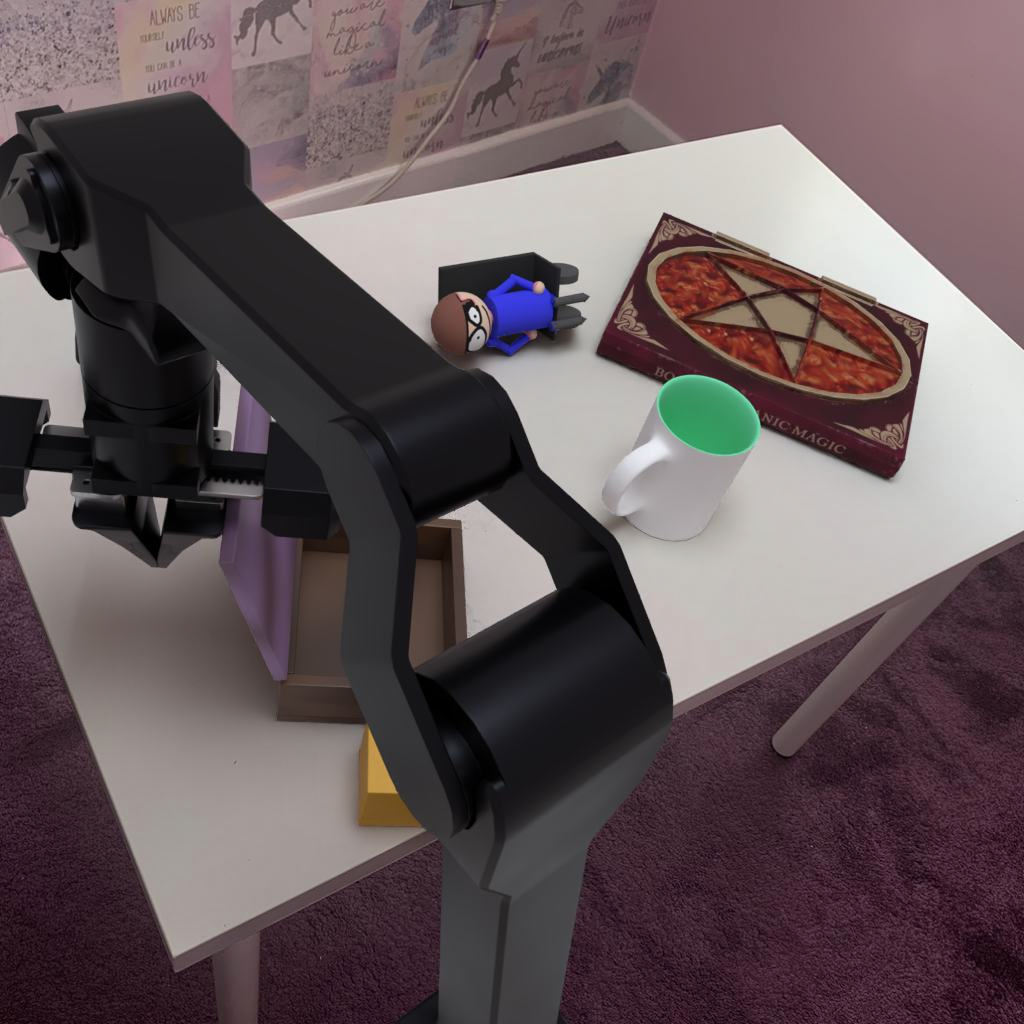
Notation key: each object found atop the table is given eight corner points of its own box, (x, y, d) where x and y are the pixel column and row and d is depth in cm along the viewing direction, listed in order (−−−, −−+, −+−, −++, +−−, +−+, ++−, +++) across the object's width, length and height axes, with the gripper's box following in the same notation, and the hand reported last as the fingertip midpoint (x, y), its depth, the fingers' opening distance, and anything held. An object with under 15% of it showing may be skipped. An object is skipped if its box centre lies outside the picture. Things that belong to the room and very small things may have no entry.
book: (592, 360, 96) (608, 319, 92) (654, 234, 109) (670, 194, 105) (886, 486, 94) (914, 450, 90) (913, 343, 107) (939, 306, 103)
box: (449, 558, 78) (461, 519, 74) (456, 727, 70) (470, 693, 66) (289, 546, 75) (293, 505, 72) (276, 721, 67) (280, 684, 63)
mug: (627, 577, 80) (673, 493, 72) (559, 504, 83) (596, 415, 75) (729, 515, 87) (781, 431, 79) (662, 449, 90) (707, 361, 82)
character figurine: (586, 353, 96) (436, 383, 89) (552, 295, 99) (404, 320, 92) (615, 291, 89) (455, 319, 83) (576, 231, 92) (420, 253, 86)
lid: (255, 370, 61) (241, 371, 61) (234, 562, 53) (218, 563, 53) (299, 501, 71) (287, 502, 71) (287, 680, 63) (273, 681, 63)
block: (439, 827, 65) (453, 794, 61) (357, 826, 64) (367, 792, 60) (437, 752, 68) (450, 716, 64) (359, 749, 67) (368, 713, 63)
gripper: (359, 272, 55) (332, 466, 67) (-34, 222, 51) (12, 437, 62) (355, 434, 48) (325, 617, 60) (-99, 391, 44) (-33, 596, 56)
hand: (159, 560), depth 60 cm, fingers closed
